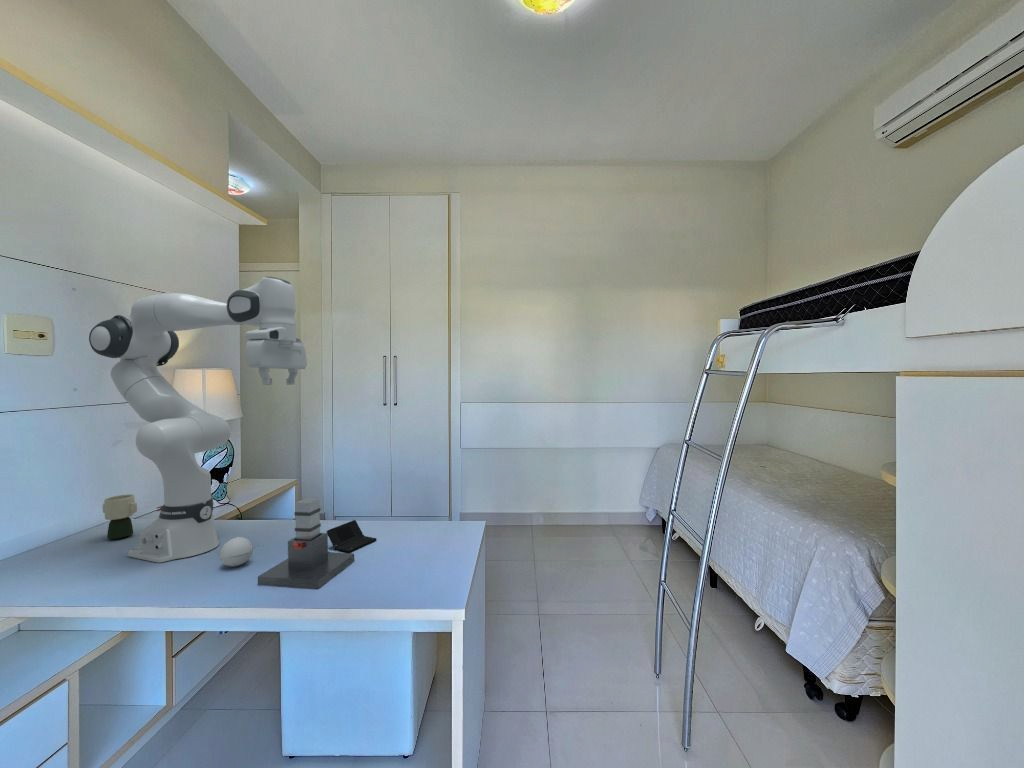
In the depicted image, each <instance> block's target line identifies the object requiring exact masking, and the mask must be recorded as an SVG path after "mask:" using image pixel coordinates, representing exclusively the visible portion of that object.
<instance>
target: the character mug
mask: <svg viewBox="0 0 1024 768" xmlns="http://www.w3.org/2000/svg"><path fill="white" fill-rule="evenodd" d="M137 512H138V504H137V502H135V495H134V494H120V495H113V496H109V497H106V498H104V503H102V513H104V518H105V520H109V523H108V528H107V536H106V538H107V540H117V539H122V538H127V537H128V536H132V535H134V527H133V524H132V519H131V517H130V516H133V515H134V514H135V513H137Z"/></svg>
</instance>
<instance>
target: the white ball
mask: <svg viewBox="0 0 1024 768" xmlns="http://www.w3.org/2000/svg"><path fill="white" fill-rule="evenodd" d="M264 546H265V545H264V544H263V545H262V547H264ZM258 547H259V548H261V545H259V546H258ZM255 548H257V546H256V547H253V544H252V542H251V541H250V540H249V539H248V538H245V537H242V536H237V537H233V538H231V539H228V541H226V542H225V543H224V544H223V545H222V547H221V549H220V552H219V556H220V560H221V562H222V563H223V564H224V565H226V566H228V567H240V566H241V565H243V564H245V563H246V562H247V561H248V560H249V559H250V557H251V555H252V554H253V551H254V550H253V549H255Z"/></svg>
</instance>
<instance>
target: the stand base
mask: <svg viewBox="0 0 1024 768" xmlns="http://www.w3.org/2000/svg"><path fill="white" fill-rule="evenodd" d="M328 540H329V537H328V533H327V532H320V536H319V537H317V538H315V539H314V540H312V541H300V540H296V536H295V537H293V538H291V539H290V540H288V541H287V558H286V559H284V560H283V561H281V562H279V563H278V564H276V565H274V566H273V567H271V568H269V569H267V570H266V571H264V572H262V573H261V574H260V575H258V576H257V585H258V586H269V587H283V588H285V587H286V588H299V589H311V590H312V589H313V590H319V589H321V588H322V587H323V586H324V585H325V584H327V583H328V582H329V581H330V580H332V579H334V578H335V577H336V576H337V575H338V574H340V573H341V572H342V571H344V570H345V569H346V568H348V566H350V565H351V564H353V563H354V562H355V553H354V552H352V553H344V552H334V551H333V552H330V551H329V544H328V543H329V541H328Z"/></svg>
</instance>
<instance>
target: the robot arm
mask: <svg viewBox="0 0 1024 768" xmlns="http://www.w3.org/2000/svg"><path fill="white" fill-rule="evenodd" d="M131 305H132V306H131V309H130V314H129V315H127V316H124V315H121V314H117V315H116V314H115V315H114V316H113V317H112V318H110V319H107V320H103V321H101V322H99V323H97V324H95V326H94V327H92V329H91V330H90V332H89V336H88V341H89V345H90V347H91V349H92V351H93V352H94V353H96V354H97V355H100V356H101V357H106V358H109V359H120V361H118V362H117V363H115V364H113V366H112V368H111V369H110V376H111V377H110V378H111V380H112V382H113V384H114V385H115V387H116V389H117V390H118V392H119V393H120V394H121V396H122V398H123V399H124V400H125V401H126V402H127V403H128V404H129V406H130V407H131V408H132V409H133V410H134V411H135V413H136V414H137V415H138V416H139V417H140V418H141V419H142V420H144V421H145V422H148V423H147V424H144V425H143V426H141V427H140V428H139V430H138V431H137V433H136V436H135V447H136V448H137V451H138V452H139V453H140V454H141V455H142V456H143V457H145V458H147V459H148V460H151V462H153V463H154V465H155V466H156V467H157V469H158V471H159V472H160V476H161V478H162V485H163V501H164V503H163V505H160V506H157V507H156V512H159V516H158V518H157V519H155V520H154V521H153V522H151V524H150V525H148V526H147V527H146V528H145V529H143V530H142V531H141V532H140V534H139V537H138V546H136V547H134V548H132V549H131V550H129V551H128V552H127V557H129V558H133V559H138V560H143V561H149V562H153V563H165V562H168V561H172V560H177V559H183V558H184V559H185V558H189V557H193V556H196V555H197V556H198V555H201V554H204V553H206V552H209V551H212V550H214V549H215V548H217V547H218V546H219V544H220V542H219V535H217V530H216V524H215V523H216V522H215V520H214V519H215V517H214V514H213V511H214V503H215V502H214V498H213V497H212V478H211V477H212V476H211V473H210V471H209V470H208V469H206V468H204V467H203V466H201V465H199V463H198V462H197V459H196V454H198V453H203V452H204V453H205V452H208V451H212V450H215V449H216V448H219V447H221V446H223V445H226V443H227V442H228V441H229V438H230V436H231V427H230V424H229V422H228V421H227V420H226V419H225V418H223V417H221V416H217V415H214V414H212V413H209V412H207V411H206V410H204V409H202V408H200V407H199V406H197V405H195V404H194V403H192V402H190V401H189V400H187V399H186V398H185V397H184V396H182V395H181V394H180V393H179V392H178V391H177V390H176V389H175V388H174V387H173V385H172V384H171V383H170V382H169V381H168V380H167V379H166V378H165V377H164V376H163V374H162V373H161V372H160V371H159V370H158V367H162V366H164V365H166V364H167V363H168V362H169V360H170V359H172V358H173V357H174V356H175V354H176V353H177V352H178V349H179V347H180V341H179V340H180V339H179V337H178V334H177V333H176V332H178V331H188V330H197V329H203V328H210V327H211V328H212V327H218V326H225V325H226V326H227V325H229V326H232V325H233V326H234V325H238V326H239V325H247V326H253V327H254V326H255V327H258V328H255V329H252V330H247V331H246V332H245V339H246V340H247V342H246V344H245V363H246V365H247V366H248V367H249V368H252V369H254V368H257V369H258V373H259V375H260V377H261V379H262V385H263V386H271V385H272V384H273V378H271V377H270V374H269V372H270V369H277V370H278V369H279V370H282V369H283V370H288V372H287V373H289V375H288V378H286V379H285V381H286V385H287V386H291V385H292V386H293V385H296V378H297V376H298V373H299V370H305V369H306V368H307V365H308V364H307V363H308V362H307V360H308V358H307V353H306V348H305V345H304V343H303V341H302V340H301V339H300V338H297V325H296V320H295V313H296V295H295V289H294V287H293V284H292V283H291V282H290V281H287V280H286V279H282V278H278V277H275V276H274V277H273V276H262V277H261V278H260V280H259V281H258V282H256V283H255V284H253V285H252V286H251V285H250V286H249V287H246V288H244V289H237V290H235V291H234V292H232V293H231V294H230V295H229V296H228V298H227V300H226V302H221V301H218V300H213V299H209V298H205V297H201V296H198V295H194V294H189V293H182V292H181V293H180V292H163V293H156V294H155V293H154V294H151V295H147V296H144V297H141V298H139V299H136V300H135V301H134V302H133V304H131Z"/></svg>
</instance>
